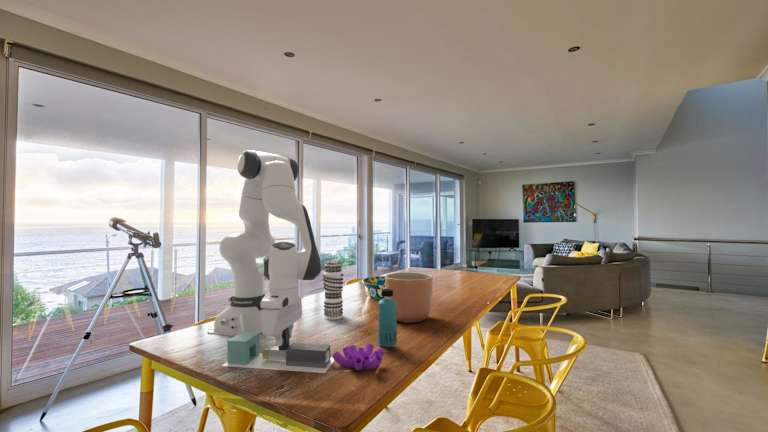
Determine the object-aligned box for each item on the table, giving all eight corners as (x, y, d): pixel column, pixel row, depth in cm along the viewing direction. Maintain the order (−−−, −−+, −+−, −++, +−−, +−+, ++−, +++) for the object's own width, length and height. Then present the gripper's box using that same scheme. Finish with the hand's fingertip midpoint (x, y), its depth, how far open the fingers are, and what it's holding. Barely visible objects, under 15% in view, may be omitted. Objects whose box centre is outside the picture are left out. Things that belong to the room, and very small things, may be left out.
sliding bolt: (262, 359, 108) (262, 329, 108) (267, 355, 111) (267, 326, 111) (326, 363, 105) (325, 332, 105) (329, 359, 108) (329, 329, 108)
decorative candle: (333, 312, 168) (332, 259, 168) (348, 316, 162) (347, 260, 162) (318, 317, 160) (318, 261, 160) (333, 320, 155) (333, 263, 155)
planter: (440, 317, 160) (440, 274, 160) (419, 329, 142) (419, 281, 142) (400, 310, 171) (400, 270, 171) (376, 321, 153) (375, 277, 153)
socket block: (227, 363, 108) (227, 340, 108) (242, 353, 115) (242, 332, 115) (245, 365, 107) (245, 341, 107) (259, 354, 114) (259, 332, 114)
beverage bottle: (383, 352, 118) (383, 292, 118) (374, 346, 124) (374, 288, 124) (400, 349, 121) (400, 290, 121) (391, 343, 127) (390, 286, 127)
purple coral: (349, 371, 112) (362, 341, 116) (384, 386, 102) (397, 353, 106) (326, 357, 105) (340, 327, 110) (361, 372, 95) (376, 338, 100)
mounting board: (221, 369, 106) (221, 365, 106) (242, 354, 117) (242, 351, 117) (324, 376, 101) (324, 372, 101) (336, 360, 112) (336, 357, 112)
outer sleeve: (286, 365, 106) (286, 348, 106) (293, 358, 111) (293, 342, 111) (325, 368, 104) (324, 350, 104) (330, 361, 109) (330, 344, 109)
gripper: (288, 288, 120) (288, 330, 120) (257, 303, 99) (257, 353, 99) (306, 289, 119) (306, 331, 119) (278, 304, 98) (278, 354, 98)
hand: (284, 341), depth 109 cm, fingers open, 4 cm apart
